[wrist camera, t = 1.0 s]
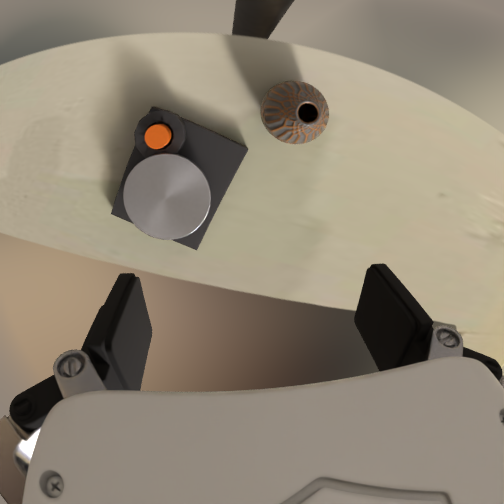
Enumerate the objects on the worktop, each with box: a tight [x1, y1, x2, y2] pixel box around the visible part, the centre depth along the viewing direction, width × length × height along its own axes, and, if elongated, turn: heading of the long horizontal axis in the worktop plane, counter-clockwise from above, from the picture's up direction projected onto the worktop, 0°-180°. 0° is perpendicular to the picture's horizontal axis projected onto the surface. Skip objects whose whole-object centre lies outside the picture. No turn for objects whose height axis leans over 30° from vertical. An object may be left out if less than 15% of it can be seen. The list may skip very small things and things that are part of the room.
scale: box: [111, 107, 248, 250], centre depth 31 cm, size 14×12×3 cm
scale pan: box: [123, 153, 211, 240], centre depth 30 cm, size 10×10×1 cm
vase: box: [261, 81, 329, 144], centre depth 26 cm, size 7×7×9 cm
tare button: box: [145, 124, 171, 149], centre depth 27 cm, size 3×3×2 cm
